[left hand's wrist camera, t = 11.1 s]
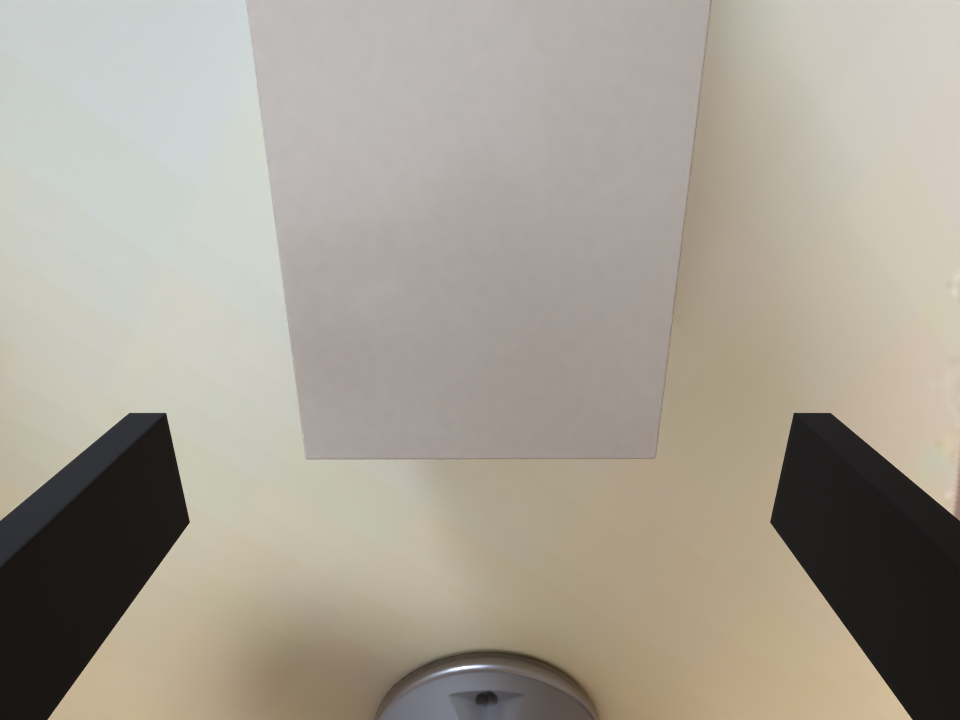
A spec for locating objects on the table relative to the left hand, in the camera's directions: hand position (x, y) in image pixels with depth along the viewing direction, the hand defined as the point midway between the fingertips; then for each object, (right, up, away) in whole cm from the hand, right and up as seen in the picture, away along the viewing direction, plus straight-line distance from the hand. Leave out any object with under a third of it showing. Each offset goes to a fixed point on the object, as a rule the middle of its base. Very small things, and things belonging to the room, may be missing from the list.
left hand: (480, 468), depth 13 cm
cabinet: (0, +12, +14) cm, 18 cm away
